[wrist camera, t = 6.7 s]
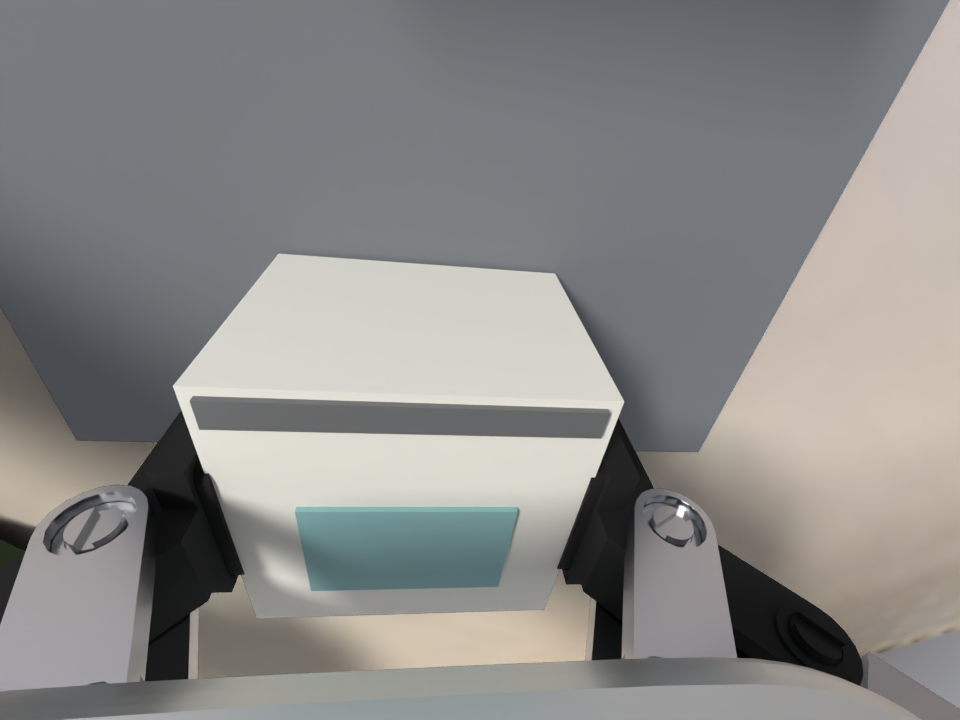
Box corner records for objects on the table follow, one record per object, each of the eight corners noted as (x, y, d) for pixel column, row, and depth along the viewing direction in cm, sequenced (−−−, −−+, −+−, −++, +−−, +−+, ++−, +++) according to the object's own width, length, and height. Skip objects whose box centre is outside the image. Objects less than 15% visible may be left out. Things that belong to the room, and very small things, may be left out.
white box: (278, 253, 9) (168, 390, 5) (555, 273, 10) (626, 405, 6) (309, 453, 13) (255, 623, 9) (514, 456, 13) (544, 614, 10)
